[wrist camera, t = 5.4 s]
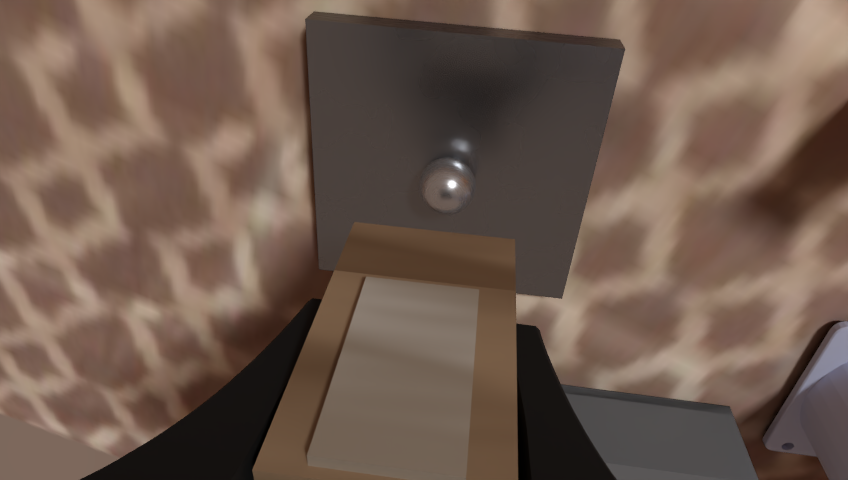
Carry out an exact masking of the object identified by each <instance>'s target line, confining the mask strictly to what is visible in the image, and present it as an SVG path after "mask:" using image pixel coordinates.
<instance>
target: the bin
mask: <svg viewBox="0 0 848 480" xmlns="http://www.w3.org/2000/svg"><path fill="white" fill-rule="evenodd" d="M561 386H562V388H563V390H564V392H565V394H566V396H567V398H568V400H569V402H570V404H571V406H572V408H573V410H574V412H575V414H576V416H577V417H578V419H579V421H580V423H581V424H582V426H583V428H584V430H585V432H586V433H587V435H588V437H589V438H590V440H591V442H592V443H593V445H594V447H595V448H596V450H597V451H598V453H599V454H600V456H601V457H602V459H603V460H604V462H605V463H606V465H607V466H608V468H609V469H610V471H611V472H612V474H613V475H614V476H615V478H616V479H617V480H758V477H757V475H756V472H755V469H754V467H753V464H752V462H751V459H750V457H749V454H748V452H747V449H746V447H745V444H744V442H743V439H742V437H741V434H740V432H739V429H738V426H737V424H736V421H735V419H734V416H733V414H732V411H731V409H730V407H729V406H721V405H714V404H706V403H698V402H691V401H683V400H675V399H667V398H660V397H652V396H644V395H637V394H629V393H621V392H614V391H606V390H598V389H590V388H583V387H575V386H567V385H561Z"/></svg>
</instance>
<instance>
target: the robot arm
mask: <svg viewBox="0 0 848 480" xmlns="http://www.w3.org/2000/svg"><path fill="white" fill-rule="evenodd" d="M321 302H322V299H314V298H312V299H311V300H310V301H308V302H307V303H306V305H305V306H304V307H303V308H302V309H301V310H300V312H299V313H298V314H297V315H296V316H295V317H294V318H293V320H292V321H291V322H290V323H289V324H288V325H287V326H286V327H285V328H284V329H283V330H282V332H281V333H280V334H279V335H278V336H277V337H276V338H275V339H274V340H273V341H272V342H271V343H270V344H269V345H268V346H267V347H266V348H265V349H264V350H263V351H262V352H261V353H260V354H259V355H258V356H257V357H256V358H255V359H254V360H253V361H252V362H251V363H250V364H249V365H248V366H246V367H245V368H244V369H243V370H242V371H241V372H240V373H239V374H238V375H236V376H235V377H234V378H233V379H232V380H231V381H230V382H229V383H228V384H226V385H225V386H224V387H223V388H222V389H220V390H219V391H218V392H217V393H216V394H214V395H213V396H212V397H211V398H209V399H208V400H207V401H206V402H204V403H203V404H202V405H200V406H199V407H198V408H197V409H195V410H194V411H193V412H191V413H190V414H188V415H187V416H185V417H184V418H183V419H181V420H180V421H178V422H177V423H176V424H174V425H173V426H171V427H170V428H168V429H167V430H165V431H164V432H162V433H161V434H159V435H158V436H156V437H155V438H153V439H152V440H150V441H148V442H147V443H145V444H143V445H142V446H140V447H138V448H137V449H135V450H133V451H132V452H130V453H128V454H127V455H125V456H123V457H122V458H120V459H118V460H117V461H115V462H113V463H111V464H110V465H108V466H106V467H104V468H102V469H100V470H98V471H96V472H94V473H92V474H91V475H88V476H86V477H84V478H82V479H80V480H254V477H253V472H252V469H253V467H254V464H255V462H256V460H257V457H258V455H259V452H260V450H261V447H262V445H263V443H264V440H265V438H266V435H267V433H268V430H269V428H270V426H271V423H272V421H273V418H274V416H275V413H276V411H277V409H278V406H279V404H280V401H281V399H282V396H283V394H284V392H285V389H286V387H287V384H288V382H289V379H290V377H291V374H292V372H293V370H294V367H295V365H296V362H297V360H298V357H299V355H300V353H301V350H302V348H303V345H304V343H305V340H306V338H307V336H308V333H309V331H310V328H311V326H312V323H313V321H314V319H315V316H316V314H317V311H318V309H319V306H320V304H321ZM516 350H517V429H518V480H617V479H616V478H615V476H614V475H613V474H612V472H611V471H610V469H609V468H608V466H607V465H606V463H605V462H604V460H603V459H602V457H601V456H600V454H599V453H598V451H597V450H596V448H595V447H594V445H593V443H592V442H591V440H590V438H589V437H588V435H587V433H586V432H585V430H584V428H583V426H582V424H581V423H580V421H579V419H578V417H577V416H576V414H575V412H574V410H573V408H572V406H571V404H570V402H569V400H568V398H567V396H566V394H565V392H564V390H563V388H562V386H561V384H560V382H559V380H558V377H557V375H556V373H555V371H554V368H553V366H552V363H551V361H550V359H549V356H548V354H547V351H546V348H545V346H544V343H543V340H542V337H541V333H540V330H539V329H538V328H537V327H536V326H530V325H522V324H516ZM762 440H763V442H764V445H765V447H766V448H767V449H769V450H772V451H779V452H786V453H794V454H801V455H809V456H816V457H818V459H819V461H820V463H821V465H822V467H823V469H824V471H825V473H826V475H827V477H828V479H829V480H848V321H843V322H839V323H837V324H835V325H833V326H832V327H831V329H830V330H829V332H828V333H827V335H826V336H825V338H824V340H823V341H822V343H821V345H820V346H819V348H818V349H817V351H816V353H815V354H814V356H813V357H812V359H811V361H810V362H809V364H808V366H807V367H806V369H805V370H804V372H803V374H802V375H801V377H800V378H799V380H798V382H797V383H796V385H795V386H794V388H793V390H792V391H791V393H790V395H789V396H788V398H787V399H786V401H785V403H784V404H783V406H782V407H781V409H780V411H779V412H778V414H777V416H776V417H775V419H774V420H773V422H772V424H771V425H770V427H769V428H768V430H767V432H766V433H765V435H764V437H763V439H762Z"/></svg>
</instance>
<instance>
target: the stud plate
mask: <svg viewBox="0 0 848 480" xmlns="http://www.w3.org/2000/svg"><path fill="white" fill-rule="evenodd" d="M305 22H306V40H307V58H308V77H309V95H310V113H311V132H312V150H313V168H314V186H315V205H316V223H317V241H318V259H319V269H321V270H329V271H334V270H335V267H336V265H337V263H338V260H339V258H340V255H341V253H342V250H343V248H344V246H345V243H346V241H347V238H348V236H349V233H350V231H351V229H352V226H353V224H354V222H359V223H368V224H378V225H387V226H396V227H405V228H415V229H424V230H433V231H442V232H452V233H461V234H470V235H479V236H489V237H498V238H507V239H515V271H516V293H520V294H528V295H536V296H545V297H553V298H561V299H562V296H563V292H564V288H565V284H566V281H567V277H568V273H569V269H570V265H571V261H572V257H573V253H574V249H575V245H576V241H577V237H578V233H579V229H580V225H581V221H582V217H583V213H584V209H585V205H586V202H587V198H588V194H589V190H590V186H591V182H592V178H593V174H594V170H595V166H596V162H597V158H598V154H599V150H600V146H601V142H602V138H603V134H604V130H605V126H606V123H607V119H608V115H609V111H610V107H611V103H612V99H613V95H614V91H615V87H616V83H617V79H618V75H619V71H620V67H621V63H622V59H623V55H624V51H625V48H624V46H623V44H622V42H621V41H620V40H617V39H606V38H595V37H584V36H573V35H562V34H552V33H541V32H530V31H519V30H508V29H497V28H486V27H475V26H465V25H454V24H443V23H432V22H421V21H410V20H399V19H388V18H378V17H367V16H356V15H345V14H334V13H323V12H313V13H312V14H311V15H310V16H308V17H307V18H306V19H305Z"/></svg>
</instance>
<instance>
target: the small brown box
mask: <svg viewBox="0 0 848 480" xmlns="http://www.w3.org/2000/svg"><path fill="white" fill-rule="evenodd" d="M252 472H253V477H254V480H518V429H517V350H516V271H515V239H507V238H498V237H489V236H479V235H470V234H461V233H452V232H442V231H433V230H424V229H415V228H405V227H396V226H387V225H378V224H368V223H359V222H354V224H353V226H352V229H351V231H350V233H349V236H348V238H347V241H346V243H345V246H344V248H343V250H342V253H341V255H340V258H339V260H338V263H337V265H336V267H335V270H334V272H333V275H332V277H331V280H330V282H329V285H328V287H327V289H326V292H325V294H324V297H323V299H322V302H321V304H320V306H319V309H318V311H317V314H316V316H315V319H314V321H313V323H312V326H311V328H310V331H309V333H308V336H307V338H306V340H305V343H304V345H303V348H302V350H301V353H300V355H299V357H298V360H297V362H296V365H295V367H294V370H293V372H292V374H291V377H290V379H289V382H288V384H287V387H286V389H285V392H284V394H283V396H282V399H281V401H280V404H279V406H278V409H277V411H276V413H275V416H274V418H273V421H272V423H271V426H270V428H269V430H268V433H267V435H266V438H265V440H264V443H263V445H262V447H261V450H260V452H259V455H258V457H257V460H256V462H255V464H254V467H253V469H252Z"/></svg>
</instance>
